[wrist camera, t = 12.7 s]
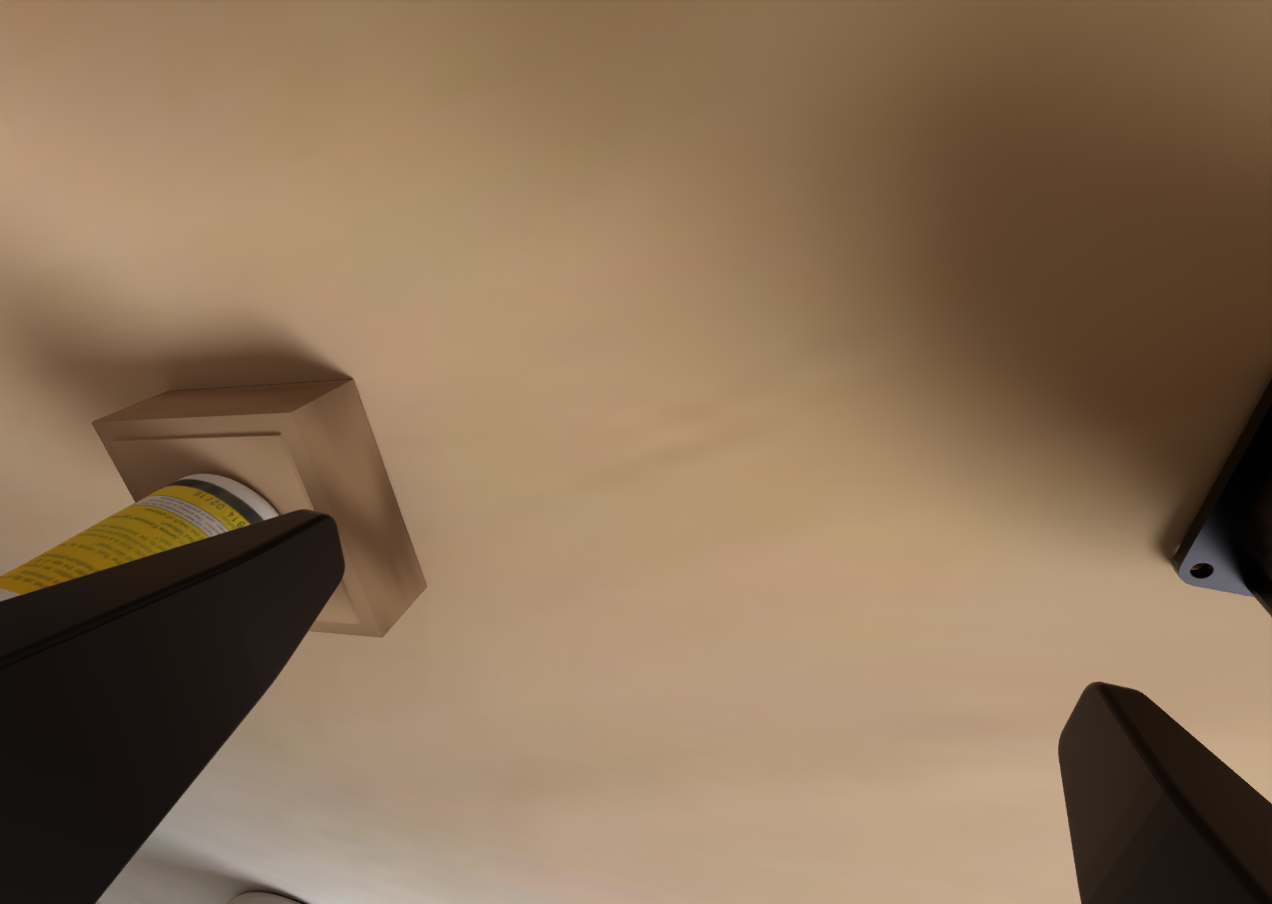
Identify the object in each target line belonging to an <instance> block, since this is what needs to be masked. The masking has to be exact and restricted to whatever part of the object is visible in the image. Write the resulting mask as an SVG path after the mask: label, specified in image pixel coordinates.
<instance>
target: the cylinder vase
mask: <svg viewBox="0 0 1272 904" xmlns="http://www.w3.org/2000/svg"><path fill="white" fill-rule="evenodd" d="M227 904H301V903H298V902H296V901H294V900H291V899H288V898H285V897H282V896H279V895H275V894H270V893H263V892H251V893H245V894H242V895H239V896H237V897H235V898H233V899H232V900H231V901H229V902H228V903H227Z"/></svg>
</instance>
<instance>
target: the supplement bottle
mask: <svg viewBox="0 0 1272 904" xmlns="http://www.w3.org/2000/svg"><path fill="white" fill-rule="evenodd" d="M276 516H280V515H279V514H278V513H277V512H276V511H275V509H274V508H273V507H272V506H271V505H270V504H269V503H268V502H267V501H265V500H264V499H263V498H262V497H261V496H259V495H258V494H257V493H255V492H254V491H252V490H251V489H249V488H248V487H246V486H244V485H243V484H241V483H239V482H237V481H234V480H232V479H229V478H227V477H223V476H219V475H213V474H194V475H190V476H186V477H184V478H181V479H179V480H177V481H175V482H173V483H170V484H168V485H167V486H165V487H163V488H162V489H160V490H157V491H156V492H154V493H152V494H150V495H149V496H147V497H145V498H143V499H141V500H140V501H138V502H136V503H134V504H132V505H131V506H129V507H127V508H125V509H123V510H121V511H119V512H118V513H116V514H114V515H112V516H110V517H108V518H106V519H105V520H103V521H101V522H99V523H97V524H95V525H94V526H92V527H90V528H88V529H87V530H85V531H83V532H81V533H79V534H77V535H76V536H74V537H72V538H70V539H69V540H67V541H65V542H63V543H61V544H60V545H58V546H56V547H54V548H52V549H51V550H49V551H47V552H45V553H43V554H42V555H40V556H38V557H36V558H34V559H32V560H31V561H29V562H27V563H25V564H23V565H21V566H19V567H17V568H16V569H14V570H12V571H10V572H8V573H6V574H4V575H3V576H1V577H0V601H3V600H6V599H9V598H12V597H16V596H19V595H22V594H26V593H29V592H32V591H35V590H39V589H42V588H45V587H48V586H52V585H55V584H58V583H61V582H65V581H68V580H71V579H74V578H78V577H81V576H84V575H87V574H91V573H94V572H97V571H100V570H104V569H107V568H110V567H113V566H117V565H120V564H123V563H126V562H130V561H133V560H136V559H139V558H143V557H146V556H149V555H153V554H156V553H159V552H162V551H166V550H169V549H172V548H175V547H179V546H182V545H185V544H188V543H192V542H195V541H198V540H201V539H205V538H208V537H211V536H214V535H218V534H221V533H224V532H227V531H231V530H234V529H237V528H240V527H244V526H247V525H250V524H253V523H257V522H260V521H263V520H267V519H270V518H273V517H276Z"/></svg>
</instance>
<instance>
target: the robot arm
mask: <svg viewBox="0 0 1272 904" xmlns="http://www.w3.org/2000/svg"><path fill="white" fill-rule="evenodd" d="M1199 563H1206V564H1205V565H1204V566H1203V567H1202V568H1199V569H1197V570H1190V569H1191V568H1192V567H1193V566H1194V565H1196V564H1199ZM1172 565H1173V568H1174V570H1175V572H1176V573H1177V574H1178V576H1179V577H1180V578H1181V579H1182V580H1183V581H1184V582H1185V583H1187V584H1190V585H1193V586H1198V587H1203V588H1209V589H1214V590H1219V591H1225V592H1230V593H1236V594H1241V595H1246V596H1252V597H1255V598H1256V599H1257V601H1258V602H1259V603H1260V604H1261V605H1262V606H1263V607H1264V609H1265V610H1266V611H1267V612H1268V613H1269V614H1270V616H1271V617H1272V380H1271V382H1270V383H1269V385H1268V387H1267V389H1266V391H1265V392H1264V394H1263V396H1262V398H1261V400H1260V402H1259V403H1258V405H1257V407H1256V409H1255V411H1254V413H1253V414H1252V416H1251V418H1250V420H1249V422H1248V423H1247V425H1246V427H1245V429H1244V431H1243V433H1242V434H1241V436H1240V438H1239V440H1238V442H1237V443H1236V445H1235V447H1234V449H1233V451H1232V453H1231V454H1230V456H1229V458H1228V460H1227V462H1226V464H1225V465H1224V467H1223V469H1222V471H1221V473H1220V474H1219V476H1218V478H1217V480H1216V482H1215V484H1214V485H1213V487H1212V489H1211V491H1210V493H1209V494H1208V496H1207V498H1206V500H1205V502H1204V504H1203V505H1202V507H1201V509H1200V511H1199V513H1198V515H1197V516H1196V518H1195V520H1194V522H1193V524H1192V525H1191V527H1190V529H1189V531H1188V533H1187V535H1186V536H1185V538H1184V540H1183V542H1182V544H1181V545H1180V547H1179V549H1178V551H1177V553H1176V555H1175V556H1174V558H1173V562H1172ZM344 571H345V560H344V555H343V550H342V545H341V541H340V536H339V531H338V526H337V523H336V521H335V519H334V518H333V517H332V516H331V515H329V514H327V513H322V512H318V511H313V510H308V509H300V510H296V511H293V512H289V513H286V514H283V515H280V516H276V517H273V518H270V519H267V520H263V521H260V522H257V523H253V524H250V525H247V526H244V527H240V528H237V529H234V530H231V531H227V532H224V533H221V534H218V535H214V536H211V537H208V538H205V539H201V540H198V541H195V542H192V543H188V544H185V545H182V546H179V547H175V548H172V549H169V550H166V551H162V552H159V553H156V554H153V555H149V556H146V557H143V558H139V559H136V560H133V561H130V562H126V563H123V564H120V565H117V566H113V567H110V568H107V569H104V570H100V571H97V572H94V573H91V574H87V575H84V576H81V577H78V578H74V579H71V580H68V581H65V582H61V583H58V584H55V585H52V586H48V587H45V588H42V589H39V590H35V591H32V592H29V593H26V594H22V595H19V596H16V597H12V598H9V599H6V600H3V601H0V904H95V903H96V902H97V901H98V899H99V898H100V897H101V896H102V894H103V893H104V892H105V891H106V890H107V888H108V887H109V886H110V885H111V883H112V882H113V881H114V880H115V878H116V877H117V876H118V875H119V873H120V872H121V871H122V870H123V868H124V867H125V866H126V865H127V863H128V862H129V861H130V860H131V859H132V857H133V856H134V855H135V854H136V852H137V851H138V850H139V849H140V847H141V846H142V845H143V844H144V842H145V841H146V840H147V839H148V837H149V836H150V835H151V834H152V832H153V831H154V830H155V829H156V828H157V826H158V825H159V824H160V823H161V821H162V820H163V819H164V818H165V816H166V815H167V814H168V813H169V811H170V810H171V809H172V808H173V806H174V805H175V804H176V803H177V802H178V800H179V799H180V798H181V797H182V795H183V794H184V793H185V792H186V790H187V789H188V788H189V787H190V785H191V784H192V783H193V782H194V780H195V779H196V778H197V777H198V775H199V774H200V773H201V772H202V771H203V769H204V768H205V767H206V766H207V764H208V763H209V762H210V761H211V759H212V758H213V757H214V756H215V754H216V753H217V752H218V751H219V749H220V748H221V747H222V746H223V744H224V743H225V742H226V741H227V740H228V738H229V737H230V736H231V735H232V733H233V732H234V731H235V730H236V728H237V727H238V726H239V725H240V723H241V722H242V721H243V720H244V718H245V717H246V716H247V715H248V713H249V712H250V711H251V710H252V709H253V707H254V706H255V705H256V704H257V702H258V701H259V700H260V699H261V697H262V696H263V695H264V694H265V692H266V691H267V690H268V688H269V687H270V686H271V684H272V683H273V682H274V681H275V679H276V678H277V676H278V675H279V674H280V672H281V671H282V669H283V668H284V666H285V665H286V664H287V662H288V661H289V659H290V658H291V656H292V655H293V653H294V652H295V650H296V649H297V647H298V646H299V644H300V643H301V641H302V640H303V638H304V637H305V635H306V634H307V632H308V631H309V629H310V628H311V626H312V625H313V623H314V622H315V620H316V619H317V617H318V616H319V614H320V613H321V611H322V610H323V608H324V607H325V605H326V604H327V602H328V601H329V599H330V598H331V596H332V595H333V593H334V592H335V590H336V589H337V587H338V586H339V584H340V582H341V580H342V578H343V575H344ZM1058 755H1059V763H1060V770H1061V776H1062V783H1063V790H1064V796H1065V803H1066V809H1067V816H1068V823H1069V829H1070V836H1071V843H1072V849H1073V856H1074V862H1075V869H1076V876H1077V882H1078V888H1079V893H1080V899H1081V904H1272V804H1271V803H1270V802H1269V801H1268V800H1267V799H1265V798H1264V797H1263V796H1262V795H1261V794H1260V793H1258V792H1257V791H1256V790H1255V789H1254V788H1253V787H1251V786H1250V785H1249V784H1248V783H1247V782H1246V781H1244V780H1243V779H1242V778H1241V777H1240V776H1239V775H1237V774H1236V773H1235V772H1234V771H1233V770H1232V769H1231V768H1229V767H1228V766H1227V765H1226V764H1225V763H1224V762H1222V761H1221V760H1220V759H1219V758H1218V757H1217V756H1215V755H1214V754H1213V753H1212V752H1211V751H1210V750H1208V749H1207V748H1206V747H1205V746H1204V745H1203V744H1202V743H1200V742H1199V741H1198V740H1197V739H1196V738H1195V737H1193V736H1192V735H1191V734H1190V733H1189V732H1188V731H1186V730H1185V729H1184V728H1183V727H1182V726H1181V725H1179V724H1178V723H1177V722H1176V721H1175V720H1174V719H1173V718H1171V717H1170V716H1169V715H1168V714H1167V713H1166V712H1164V711H1163V710H1162V709H1161V708H1160V707H1159V706H1157V705H1156V704H1155V703H1154V702H1153V701H1152V700H1150V699H1149V698H1148V697H1147V696H1146V695H1144V694H1143V693H1141V692H1139V691H1137V690H1135V689H1131V688H1127V687H1122V686H1118V685H1113V684H1108V683H1104V682H1093V683H1091V684H1089V685H1088V686H1087V687H1086V688H1085V690H1084V691H1083V693H1082V695H1081V696H1080V698H1079V700H1078V702H1077V704H1076V706H1075V708H1074V710H1073V712H1072V713H1071V715H1070V717H1069V719H1068V721H1067V723H1066V725H1065V727H1064V729H1063V730H1062V733H1061V736H1060V739H1059V746H1058Z"/></svg>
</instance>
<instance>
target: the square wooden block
mask: <svg viewBox="0 0 1272 904" xmlns="http://www.w3.org/2000/svg"><path fill="white" fill-rule="evenodd" d="M91 423H92V424H93V426H94V428H95V430H96V432H97V433H98V435H99V437H100V439H101V441H102V443H103V444H104V446H105V448H106V450H107V452H108V453H109V455H110V457H111V459H112V461H113V463H114V464H115V466H116V468H117V470H118V472H119V473H120V475H121V477H122V479H123V481H124V482H125V484H126V486H127V488H128V490H129V492H130V493H131V495H132V497H133V499H134V501H135V502H138V501H140V500H141V499H143V498H145V497H147V496H149V495H150V494H152V493H154V492H156V491H157V490H160V489H162V488H163V487H165V486H167V485H168V484H170V483H173V482H175V481H177V480H179V479H181V478H184V477H186V476H190V475H194V474H213V475H219V476H223V477H227V478H229V479H232V480H234V481H237V482H239V483H241V484H243V485H244V486H246V487H248V488H249V489H251V490H252V491H254V492H255V493H257V494H258V495H259V496H261V497H262V498H263V499H264V500H265V501H267V502H268V503H269V504H270V505H271V506H272V507H273V508H274V509H275V511H276V512H277V513H278V514H279V515H283V514H286V513H289V512H293V511H296V510H300V509H308V510H313V511H318V512H322V513H327V514H329V515H331V516H332V517H333V518H334V519H335V521H336V523H337V526H338V531H339V536H340V541H341V545H342V550H343V555H344V560H345V571H344V575H343V578H342V580H341V582H340V584H339V586H338V587H337V589H336V590H335V592H334V593H333V595H332V596H331V598H330V599H329V601H328V602H327V604H326V605H325V607H324V608H323V610H322V611H321V613H320V614H319V616H318V617H317V619H316V620H315V622H314V623H313V625H312V626H311V628H310V629H309V631H312V632H323V633H335V634H347V635H359V636H371V637H383V636H384V635H385V634H386V633H387V632H388V631H389V630H390V628H391V627H392V626H393V625H394V624H395V623H396V622H397V620H398V619H399V618H400V617H401V616H402V615H403V614H404V613H405V611H406V610H407V609H408V608H409V607H410V606H411V605H412V603H413V602H414V601H415V600H416V599H417V598H418V597H419V595H420V594H421V593H422V592H423V591H424V590H425V589H426V587H427V586H426V583H425V580H424V577H423V574H422V572H421V569H420V566H419V563H418V560H417V557H416V555H415V552H414V549H413V546H412V543H411V541H410V538H409V535H408V532H407V529H406V526H405V524H404V521H403V518H402V515H401V512H400V510H399V507H398V504H397V501H396V498H395V496H394V493H393V490H392V487H391V484H390V481H389V479H388V476H387V473H386V470H385V467H384V465H383V462H382V459H381V456H380V453H379V451H378V448H377V445H376V442H375V439H374V436H373V434H372V431H371V428H370V425H369V422H368V420H367V417H366V414H365V411H364V408H363V405H362V403H361V400H360V397H359V394H358V391H357V389H356V386H355V383H354V380H353V379H349V380H334V381H319V382H304V383H289V384H274V385H258V386H243V387H228V388H213V389H198V390H183V391H167V392H165V393H162V394H160V395H157V396H155V397H152V398H150V399H147V400H145V401H142V402H140V403H137V404H135V405H132V406H130V407H128V408H125V409H123V410H120V411H118V412H115V413H113V414H110V415H108V416H105V417H103V418H100V419H98V420H96V421H93V422H91Z"/></svg>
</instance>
